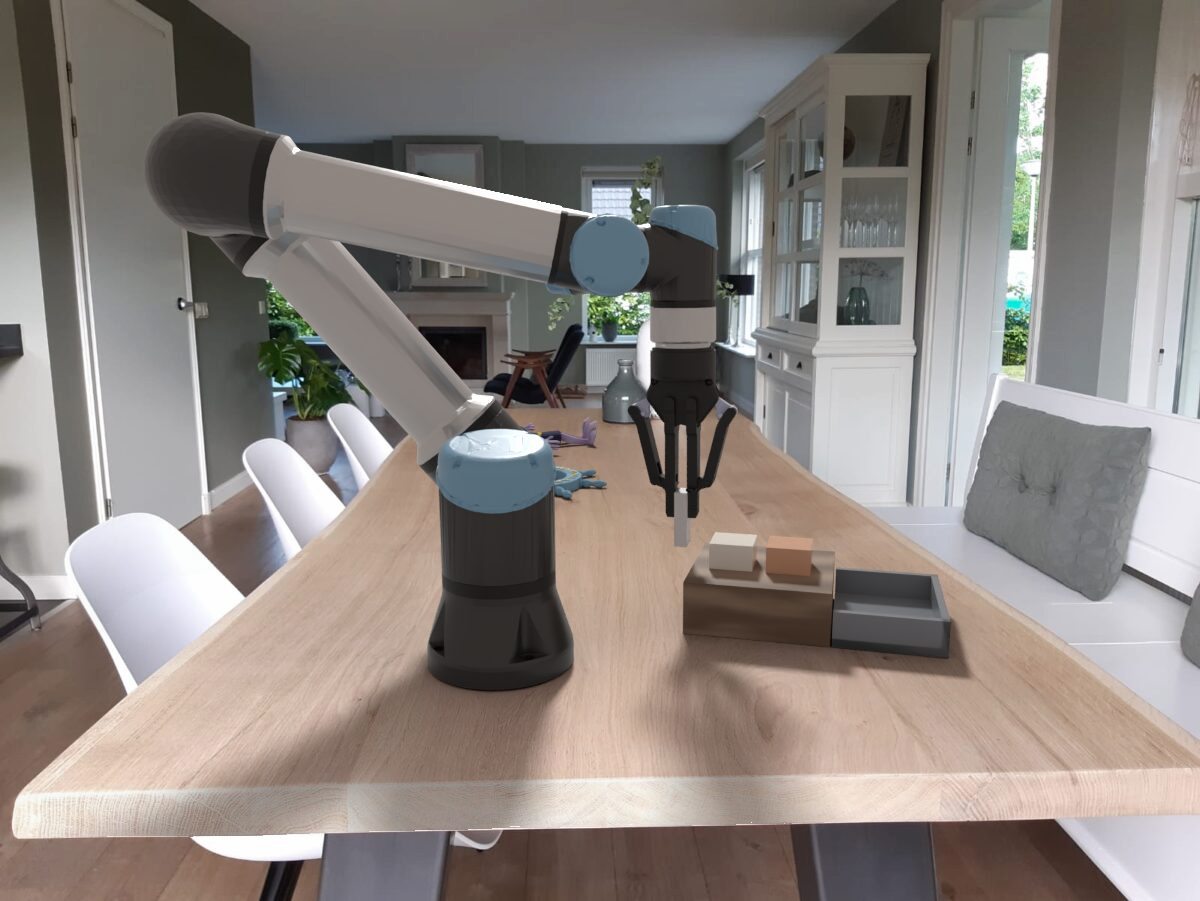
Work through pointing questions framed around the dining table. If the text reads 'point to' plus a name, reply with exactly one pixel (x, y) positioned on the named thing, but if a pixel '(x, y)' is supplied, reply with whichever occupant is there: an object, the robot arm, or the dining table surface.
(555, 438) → the toy
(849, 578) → the box
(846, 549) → the dining table surface
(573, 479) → the decorative ship wheel
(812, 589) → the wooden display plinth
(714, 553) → the off-white block
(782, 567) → the orange square block
